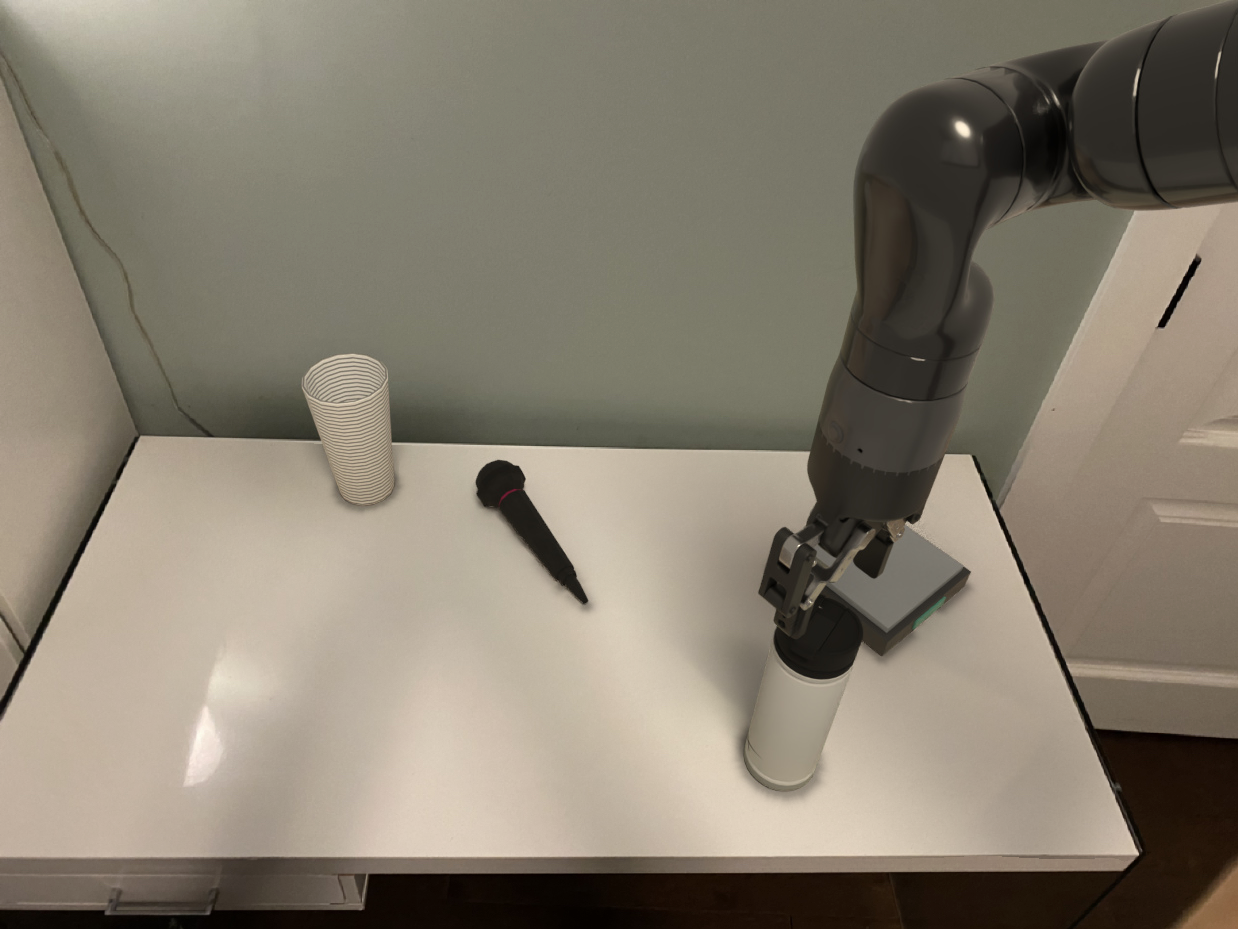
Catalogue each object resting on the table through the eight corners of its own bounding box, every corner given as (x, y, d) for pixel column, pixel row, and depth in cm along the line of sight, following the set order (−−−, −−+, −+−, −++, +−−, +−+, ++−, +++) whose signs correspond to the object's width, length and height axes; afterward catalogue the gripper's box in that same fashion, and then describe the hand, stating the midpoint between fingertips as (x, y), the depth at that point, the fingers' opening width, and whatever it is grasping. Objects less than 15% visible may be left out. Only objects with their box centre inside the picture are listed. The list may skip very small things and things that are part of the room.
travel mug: (728, 769, 79) (762, 628, 65) (764, 714, 83) (803, 571, 69) (793, 809, 76) (842, 672, 63) (827, 751, 80) (880, 610, 67)
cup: (380, 523, 98) (358, 412, 88) (312, 501, 100) (283, 390, 90) (420, 473, 104) (404, 364, 94) (356, 453, 106) (332, 344, 96)
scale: (966, 587, 95) (975, 567, 93) (883, 658, 88) (891, 638, 86) (858, 510, 103) (864, 490, 100) (774, 570, 96) (779, 549, 93)
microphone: (596, 613, 94) (501, 483, 104) (616, 576, 91) (516, 445, 101) (554, 627, 91) (460, 490, 101) (574, 589, 87) (474, 452, 97)
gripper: (858, 515, 48) (802, 688, 59) (1007, 409, 55) (932, 582, 66) (754, 439, 52) (720, 615, 63) (905, 350, 59) (851, 522, 70)
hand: (829, 598), depth 64 cm, fingers open, 8 cm apart
